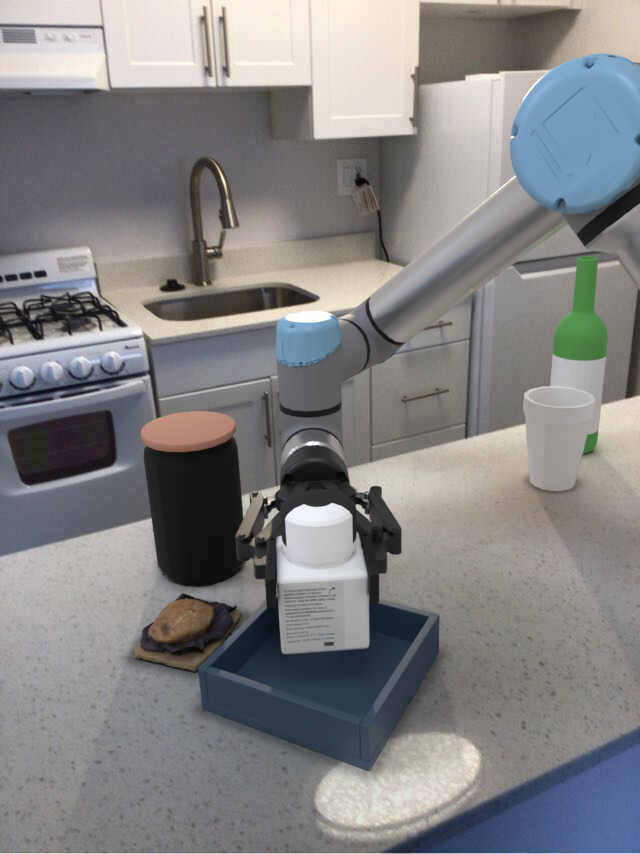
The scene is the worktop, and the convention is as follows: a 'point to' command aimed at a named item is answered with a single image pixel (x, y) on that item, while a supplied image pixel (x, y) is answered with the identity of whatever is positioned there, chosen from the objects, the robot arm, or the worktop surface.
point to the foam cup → (556, 434)
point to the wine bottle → (582, 345)
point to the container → (321, 575)
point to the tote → (323, 682)
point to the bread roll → (187, 632)
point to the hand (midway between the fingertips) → (322, 591)
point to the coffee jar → (194, 495)
